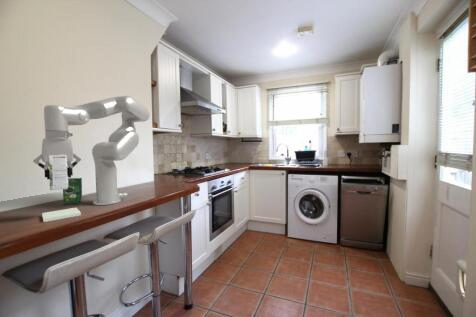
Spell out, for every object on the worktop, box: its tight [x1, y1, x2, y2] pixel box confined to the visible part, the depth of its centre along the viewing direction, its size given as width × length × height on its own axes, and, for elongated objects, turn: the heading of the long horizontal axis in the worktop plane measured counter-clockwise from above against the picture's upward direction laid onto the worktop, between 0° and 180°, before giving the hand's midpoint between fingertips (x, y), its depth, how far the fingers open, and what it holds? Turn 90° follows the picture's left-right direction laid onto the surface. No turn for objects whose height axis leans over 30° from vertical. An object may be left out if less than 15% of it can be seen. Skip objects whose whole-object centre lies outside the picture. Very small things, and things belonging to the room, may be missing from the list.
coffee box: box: [62, 177, 83, 205], centre depth 115 cm, size 8×3×13 cm, turn 117°
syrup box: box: [48, 155, 69, 191], centre depth 93 cm, size 6×6×14 cm
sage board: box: [41, 207, 82, 223], centre depth 94 cm, size 12×11×1 cm
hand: (59, 177), depth 93 cm, fingers closed on syrup box, 6 cm apart
